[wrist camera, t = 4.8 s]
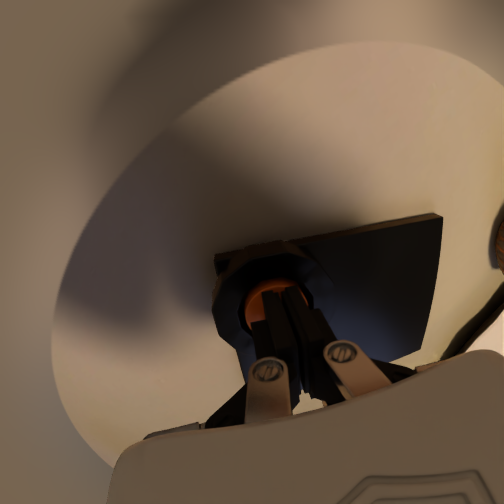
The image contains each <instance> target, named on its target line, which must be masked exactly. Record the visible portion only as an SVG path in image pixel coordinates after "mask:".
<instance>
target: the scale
mask: <svg viewBox="0 0 504 504" xmlns="http://www.w3.org/2000/svg"><path fill="white" fill-rule="evenodd" d="M442 228H443V217H442V216H439V215H437V214H430V215H425V216H419V217H414V218H408V219H402V220H397V221H391V222H386V223H380V224H375V225H369V226H364V227H358V228H353V229H347V230H342V231H337V232H331V233H326V234H320V235H315V236H309V237H304V238H299V239H293V240H288V241H282V240H277V241H271V242H266V243H260V244H255V245H250V246H248V247H245V248H244V249H240V250H235V251H229V252H224V253H219V254H215V255H214V265H215V270H216V274H217V281H216V283H215V286H214V289H213V292H212V314H213V317H214V321H215V324H216V328H217V331H218V334H219V335H220V337H221V338H222V339H224V340H225V341H226V342H227V343H228V344H230V345H231V346H232V347H233V348H235V349H236V352H237V356H238V359H239V363H240V367H241V370H242V374H243V377H244V381H245V384H246V383H247V382H248V371H249V368H250V366H251V365H252V363H254V362H255V361H256V360H257V359H256V353H255V347H254V342H253V336H252V330H251V329H250V328H249V326H248V325H247V322H246V319H245V312H244V306H243V298H244V295H245V293H247V292H248V291H249V290H251V289H252V288H253V287H255V286H256V285H257V284H258V283H260V282H261V281H265V280H270V279H275V278H280V277H284V278H287V279H290V280H294V281H297V283H298V285H299V287H300V288H301V290H302V292H303V294H304V296H305V298H306V300H307V303H308V307H309V309H310V310H312V309H316V308H319V309H320V310H321V312H322V313H323V315H324V317H325V319H326V320H327V322H328V324H329V326H330V327H331V329H332V331H333V333H334V334H335V336H336V338H337V340H349V341H352V342H354V343H356V344H357V345H358V346H359V347H360V348H361V349H362V350H363V351H364V353H365V354H366V355H367V356H368V357H369V358H372V359H376V360H379V361H383V362H387V363H389V362H391V361H394V360H396V359H399V358H401V357H404V356H406V355H408V354H411V353H413V352H415V351H418V350H420V349H421V345H422V342H423V338H424V334H425V331H426V327H427V323H428V319H429V314H430V310H431V305H432V300H433V295H434V290H435V285H436V279H437V272H438V265H439V258H440V250H441V240H442ZM300 383H301V381H300ZM302 389H303V387H302V384H301V390H302Z"/></svg>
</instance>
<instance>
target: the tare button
mask: <svg viewBox="0 0 504 504" xmlns="http://www.w3.org/2000/svg"><path fill="white" fill-rule="evenodd" d="M294 285H297V286H298V288H299V290H300V292H301V294H302V296H303V298H304V300H305V302H306V303H307V300H306V298H305V296H304V294H303V292H302V290H301V288H300V287H299V285H298V283H297V281H294V280H290V279H287V278H284V277H280V278H275V279H270V280H265V281H261V282H260V283H258V284H257V285H256V286H255V287H253V288H252V289H251V290H249V291H248V292H247V293H245V295H244V298H243V306H244V312H245V319H246V322H247V325H248V326H249V328H250V329H251V324H250V322H255V321H260V320H265V313H264V307H263V301H262V295H261V292H265V291H270V290H273V292H274V293H275V292H278V294H279V296H280V299H281V302H282V296H281V291H285V287H290V286H294ZM307 305H308V303H307Z"/></svg>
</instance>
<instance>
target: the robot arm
mask: <svg viewBox="0 0 504 504" xmlns="http://www.w3.org/2000/svg"><path fill="white" fill-rule="evenodd" d="M261 295H262V301H263V307H264V313H265V320H260V321H255V322H250V324H251V330H252V336H253V342H254V347H255V353H256V359H257V360H256V361H255V362H254V363H252V365H251V366H250V368H249V371H248V382H247V383H246V384H245V385H244V386H243V387H242V388H241V389H240V390H239V391H238V392H237V393H236V394H235V395H233V396H232V397H231V398H230V399H229V400H228V401H227V402H226V403H225V404H224V405H223V406H222V407H220V408H219V409H218V410H217V411H216V412H215V413H214V414H213V415H212V416H210V418H209V419H208V420H207V421H206V422H205V423H202V424H199V423H198V422H196V423H192V424H188V425H184V426H180V427H176V428H171V429H167V430H162V431H157V432H153V433H151V434H148V435H147V436H146V437H145V438H144V439H143V440H142V441H140V442H137V443H135V444H133V445H131V446H130V447H128V448H127V449H126V450H124V452H123V453H122V454H121V455H120V457H119V459H118V461H117V463H116V465H115V468H114V471H113V474H112V478H111V482H110V486H109V492H108V497H107V503H106V504H504V356H502V355H501V354H499V353H498V352H496V351H494V350H490V349H480V350H474V351H469V352H466V353H462V354H460V355H457V356H454V357H452V358H449V359H446V360H442V361H438V362H434V363H430V364H426V365H422V366H417V367H415V370H412V369H410V368H407V367H404V366H400V365H396V364H391V363H387V362H383V361H379V360H376V359H372V358H369V357H368V356H367V355H366V354H365V353H364V351H363V350H362V349H361V348H360V347H359V346H358V345H357V344H356V343H354V342H352V341H349V340H337V338H336V336H335V334H334V333H333V331H332V329H331V327H330V326H329V324H328V322H327V320H326V319H325V317H324V315H323V313H322V312H321V310H320V309H319V308H316V309H312V310H310V309H309V307H308V305H307V303H306V302H305V300H304V298H303V296H302V294H301V292H300V290H299V288H298V286H297V285H294V286H290V287H285V291H281V296H282V302H281V299H280V296H279V294H278V292H275V293H274V292H273V290H270V291H265V292H261ZM300 381H301V383H300ZM301 384H302V387H303V390H304V393H309V394H310V397H311V399H313V398H317V399H319V400H322V404H323V406H324V407H323V408H319V409H316V410H312V411H308V412H304V413H300V414H295V415H293V411H292V410H293V409H294V408H295V407H296V405H297V404H298V403H299V402H300V400H299V395H300V394H301Z"/></svg>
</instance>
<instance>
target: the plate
mask: <svg viewBox="0 0 504 504" xmlns="http://www.w3.org/2000/svg"><path fill="white" fill-rule="evenodd" d="M480 349H490V350H494V351H496V352H498V353H499V354H501V355H502V356H504V303H503V304H502V305H501V306H500V307H499V308H498V309H497V310H496V311H495V312H494V313H493V314H492V315H491V316H490V317H489V318H488V319H487V320H486V321H485V322H484V323H483V324H482V325H481V326H480V328H479V329H478V330H477V331H476V332H475V333H474V334H473V336H472V337H471V338H470V339H469V340H468V341H467V342H466V343H465V344H464V346H463V347H462V348H461V350H460V351H459V352H458V353H457V355H460V354H462V353H466V352H469V351H474V350H480ZM457 355H456V356H457Z"/></svg>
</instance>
